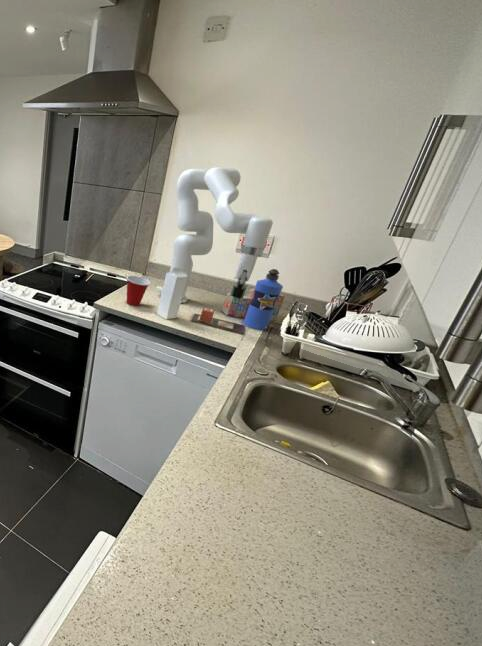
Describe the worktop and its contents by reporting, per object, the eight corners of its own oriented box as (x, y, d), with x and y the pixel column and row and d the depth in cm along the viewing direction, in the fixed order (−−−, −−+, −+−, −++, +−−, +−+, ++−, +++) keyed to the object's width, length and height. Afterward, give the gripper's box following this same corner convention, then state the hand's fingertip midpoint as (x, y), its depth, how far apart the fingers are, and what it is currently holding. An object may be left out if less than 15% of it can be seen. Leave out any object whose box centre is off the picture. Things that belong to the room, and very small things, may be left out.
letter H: (199, 319, 168) (202, 309, 166) (200, 316, 171) (203, 307, 169) (210, 322, 166) (213, 312, 164) (211, 319, 169) (214, 309, 167)
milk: (176, 318, 170) (190, 269, 161) (166, 319, 167) (179, 269, 158) (166, 312, 175) (179, 264, 166) (156, 313, 172) (168, 265, 163)
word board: (190, 321, 167) (191, 319, 167) (194, 314, 175) (194, 313, 175) (243, 334, 158) (243, 333, 158) (244, 326, 166) (244, 325, 166)
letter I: (230, 295, 156) (233, 285, 154) (231, 293, 159) (234, 282, 157) (242, 298, 154) (246, 287, 152) (243, 295, 157) (247, 285, 155)
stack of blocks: (226, 316, 176) (235, 290, 172) (221, 310, 182) (229, 285, 177) (275, 321, 175) (285, 295, 170) (268, 316, 181) (278, 291, 176)
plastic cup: (139, 309, 175) (145, 284, 170) (117, 302, 181) (122, 278, 176) (149, 304, 183) (154, 280, 178) (128, 297, 189) (132, 274, 184)
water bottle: (269, 331, 163) (291, 274, 153) (245, 327, 165) (265, 270, 155) (263, 323, 172) (284, 268, 162) (240, 319, 174) (259, 265, 164)
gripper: (241, 245, 157) (228, 288, 165) (239, 252, 144) (224, 298, 151) (263, 249, 154) (248, 292, 162) (262, 256, 141) (246, 303, 148)
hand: (237, 295), depth 156 cm, fingers closed on letter I, 4 cm apart
